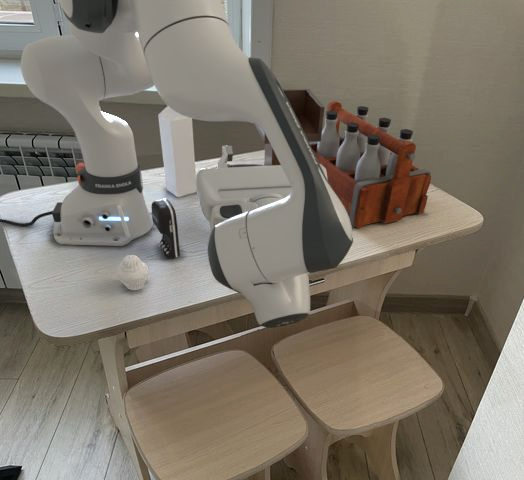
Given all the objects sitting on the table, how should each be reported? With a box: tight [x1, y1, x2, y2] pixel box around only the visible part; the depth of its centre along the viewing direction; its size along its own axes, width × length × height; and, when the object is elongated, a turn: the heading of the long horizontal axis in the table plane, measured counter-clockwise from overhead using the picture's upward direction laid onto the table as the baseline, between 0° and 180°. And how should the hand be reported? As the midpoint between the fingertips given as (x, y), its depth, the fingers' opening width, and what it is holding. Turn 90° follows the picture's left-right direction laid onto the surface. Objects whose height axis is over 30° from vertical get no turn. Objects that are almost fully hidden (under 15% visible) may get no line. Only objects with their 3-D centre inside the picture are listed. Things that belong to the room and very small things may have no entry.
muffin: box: [116, 254, 150, 291], centre depth 97 cm, size 6×6×7 cm
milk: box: [157, 105, 197, 198], centre depth 124 cm, size 6×6×22 cm
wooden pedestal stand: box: [253, 88, 325, 166], centre depth 108 cm, size 12×12×29 cm
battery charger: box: [150, 198, 181, 259], centre depth 106 cm, size 7×4×11 cm, turn 25°
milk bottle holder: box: [309, 100, 432, 229], centre depth 126 cm, size 21×35×19 cm, turn 26°
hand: (256, 146), depth 78 cm, fingers open, 8 cm apart
